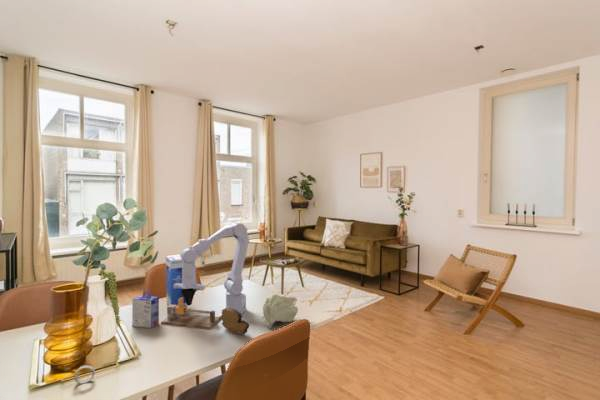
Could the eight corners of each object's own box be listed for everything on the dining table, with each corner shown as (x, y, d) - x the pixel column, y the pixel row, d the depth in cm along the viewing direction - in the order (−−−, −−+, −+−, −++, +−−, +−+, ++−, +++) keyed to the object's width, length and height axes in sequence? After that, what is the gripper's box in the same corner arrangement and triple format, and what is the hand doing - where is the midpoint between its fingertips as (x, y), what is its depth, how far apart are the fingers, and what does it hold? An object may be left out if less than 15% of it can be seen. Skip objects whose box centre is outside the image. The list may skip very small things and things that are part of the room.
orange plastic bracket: (186, 311, 140) (186, 297, 140) (183, 314, 137) (182, 299, 137) (178, 311, 141) (178, 296, 140) (175, 313, 138) (175, 299, 138)
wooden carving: (252, 334, 126) (252, 310, 126) (245, 338, 122) (245, 314, 122) (223, 325, 135) (223, 302, 134) (216, 329, 131) (215, 306, 130)
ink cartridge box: (159, 323, 136) (159, 291, 136) (151, 328, 131) (151, 295, 130) (140, 321, 138) (140, 289, 138) (131, 326, 133) (131, 294, 132)
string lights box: (187, 309, 152) (186, 258, 151) (170, 313, 147) (170, 260, 146) (180, 301, 163) (180, 253, 162) (165, 304, 158) (165, 255, 157)
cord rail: (220, 319, 141) (220, 305, 140) (210, 329, 131) (210, 314, 130) (174, 314, 145) (174, 301, 145) (160, 323, 135) (160, 309, 135)
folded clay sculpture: (280, 331, 143) (285, 297, 150) (299, 333, 135) (303, 297, 141) (250, 326, 133) (256, 289, 139) (268, 327, 124) (274, 289, 131)
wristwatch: (76, 381, 95) (76, 366, 95) (95, 377, 97) (94, 362, 97) (74, 387, 92) (73, 371, 92) (93, 382, 94) (93, 367, 94)
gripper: (169, 276, 135) (169, 306, 135) (198, 278, 132) (199, 309, 133) (178, 272, 142) (178, 300, 142) (206, 274, 139) (207, 303, 139)
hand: (189, 304), depth 138 cm, fingers closed
